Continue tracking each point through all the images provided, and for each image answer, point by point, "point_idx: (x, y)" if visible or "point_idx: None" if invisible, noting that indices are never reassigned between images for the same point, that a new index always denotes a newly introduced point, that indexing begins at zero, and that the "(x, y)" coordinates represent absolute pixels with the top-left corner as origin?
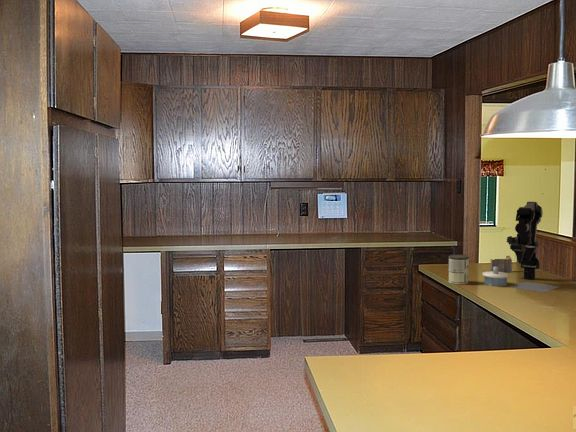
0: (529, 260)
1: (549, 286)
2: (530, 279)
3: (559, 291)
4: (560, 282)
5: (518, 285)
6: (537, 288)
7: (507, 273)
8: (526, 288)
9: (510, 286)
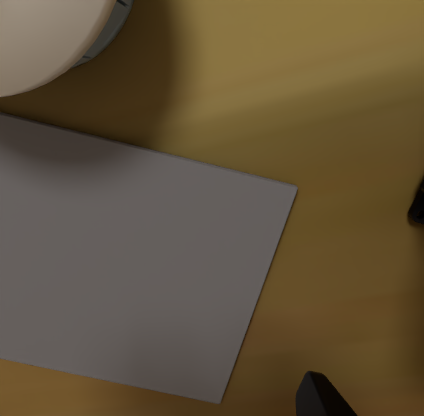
0: (296, 407)
1: (198, 358)
2: (419, 203)
3: (114, 406)
4: (416, 380)
5: (93, 174)
6: (78, 311)
7: (63, 51)
8: (23, 252)
9: (4, 124)
